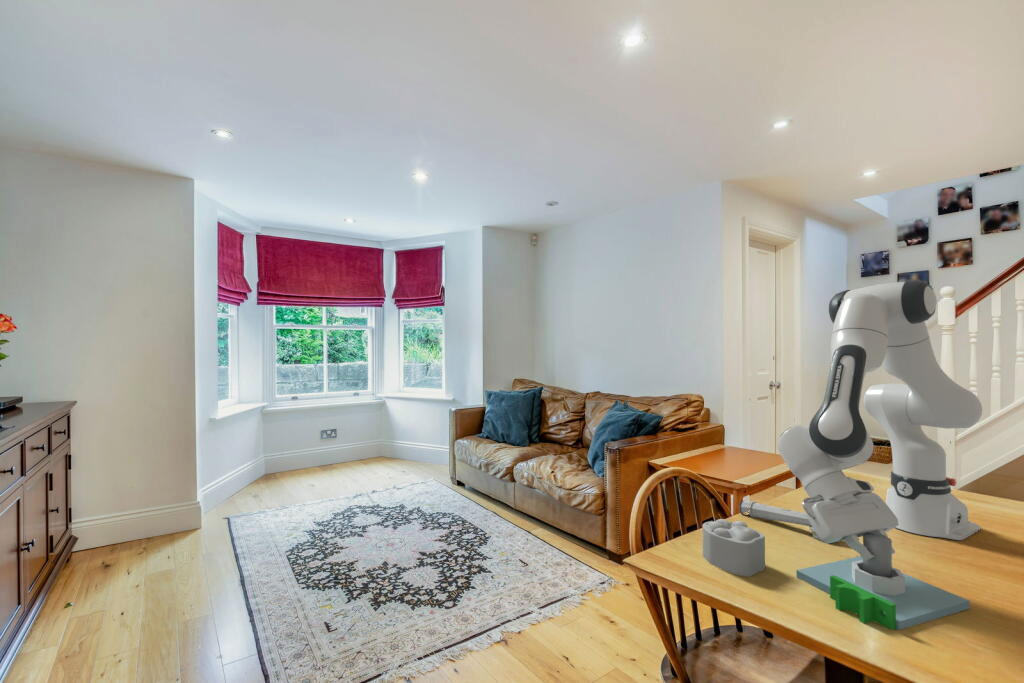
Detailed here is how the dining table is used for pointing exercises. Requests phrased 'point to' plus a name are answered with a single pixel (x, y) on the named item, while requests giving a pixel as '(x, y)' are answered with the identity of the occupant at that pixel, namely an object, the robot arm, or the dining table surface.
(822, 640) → the dining table surface
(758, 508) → the angled head handheld tool
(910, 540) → the dining table surface
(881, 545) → the gray domed peg
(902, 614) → the duct base
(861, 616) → the pipe clamp
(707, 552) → the lumpy-topped squat cylinder
